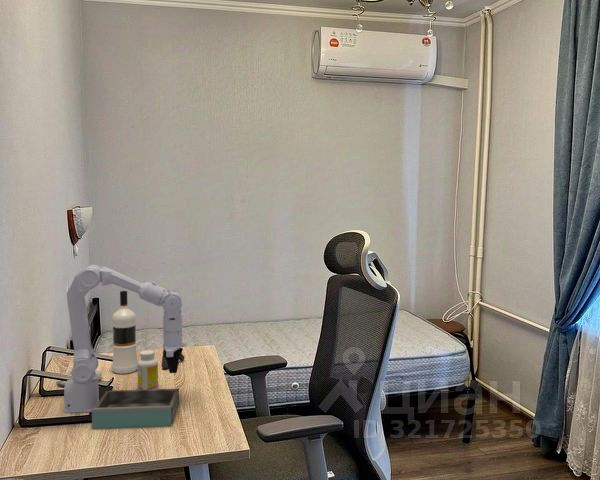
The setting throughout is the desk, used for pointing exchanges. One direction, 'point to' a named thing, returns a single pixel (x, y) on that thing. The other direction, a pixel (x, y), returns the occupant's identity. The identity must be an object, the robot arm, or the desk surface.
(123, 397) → the box
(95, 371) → the game controller
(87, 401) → the robot arm
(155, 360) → the supplement bottle
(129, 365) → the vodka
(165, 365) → the hand grip strengthener
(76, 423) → the desk surface
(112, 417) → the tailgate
